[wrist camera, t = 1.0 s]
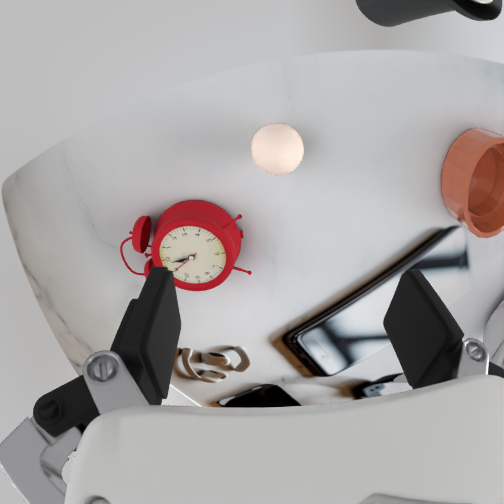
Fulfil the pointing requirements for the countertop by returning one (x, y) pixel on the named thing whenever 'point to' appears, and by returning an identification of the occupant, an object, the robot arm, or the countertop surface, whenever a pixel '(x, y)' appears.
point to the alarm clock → (190, 244)
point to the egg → (277, 148)
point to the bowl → (475, 181)
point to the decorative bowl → (495, 336)
